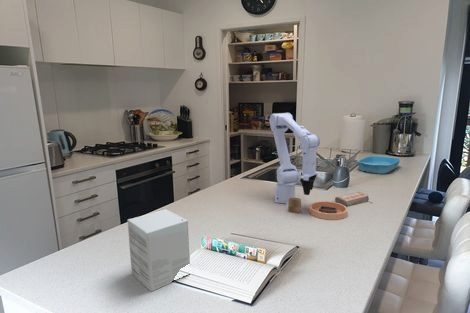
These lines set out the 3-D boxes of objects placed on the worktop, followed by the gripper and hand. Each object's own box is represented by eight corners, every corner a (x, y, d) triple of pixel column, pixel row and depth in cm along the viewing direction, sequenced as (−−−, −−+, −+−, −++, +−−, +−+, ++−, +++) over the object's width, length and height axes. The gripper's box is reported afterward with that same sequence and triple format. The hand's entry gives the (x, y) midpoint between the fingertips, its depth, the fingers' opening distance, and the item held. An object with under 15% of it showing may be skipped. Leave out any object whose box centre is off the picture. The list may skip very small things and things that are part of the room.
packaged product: (356, 189, 163) (373, 195, 154) (355, 198, 164) (372, 204, 155) (329, 195, 155) (345, 201, 146) (329, 204, 156) (345, 211, 147)
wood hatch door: (288, 213, 144) (288, 199, 142) (289, 212, 146) (289, 197, 144) (299, 215, 142) (299, 200, 140) (300, 213, 144) (300, 198, 142)
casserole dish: (371, 162, 244) (372, 153, 242) (403, 166, 229) (404, 157, 228) (351, 172, 217) (352, 161, 215) (386, 177, 202) (387, 166, 201)
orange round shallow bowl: (306, 218, 138) (306, 211, 137) (312, 206, 152) (313, 199, 151) (345, 224, 131) (345, 216, 131) (348, 211, 146) (348, 203, 145)
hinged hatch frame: (318, 213, 141) (318, 209, 140) (320, 209, 145) (320, 205, 145) (335, 215, 138) (336, 211, 138) (337, 212, 142) (337, 207, 142)
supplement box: (169, 258, 106) (166, 208, 103) (191, 274, 97) (189, 219, 93) (130, 273, 98) (126, 219, 94) (150, 292, 88) (146, 233, 85)
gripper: (316, 166, 132) (314, 198, 135) (321, 159, 145) (319, 188, 148) (298, 165, 135) (298, 196, 138) (305, 158, 148) (304, 186, 151)
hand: (308, 192), depth 143 cm, fingers open, 7 cm apart
